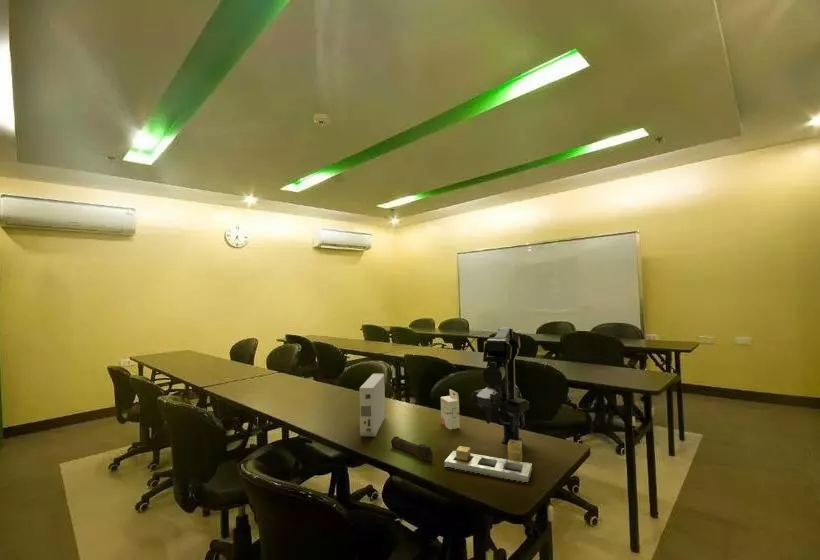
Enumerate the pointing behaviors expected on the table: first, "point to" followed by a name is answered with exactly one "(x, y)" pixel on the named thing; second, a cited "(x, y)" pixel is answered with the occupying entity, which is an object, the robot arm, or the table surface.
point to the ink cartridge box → (450, 411)
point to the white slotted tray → (473, 464)
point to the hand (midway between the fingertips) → (500, 427)
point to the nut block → (515, 450)
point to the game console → (372, 405)
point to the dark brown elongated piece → (413, 448)
